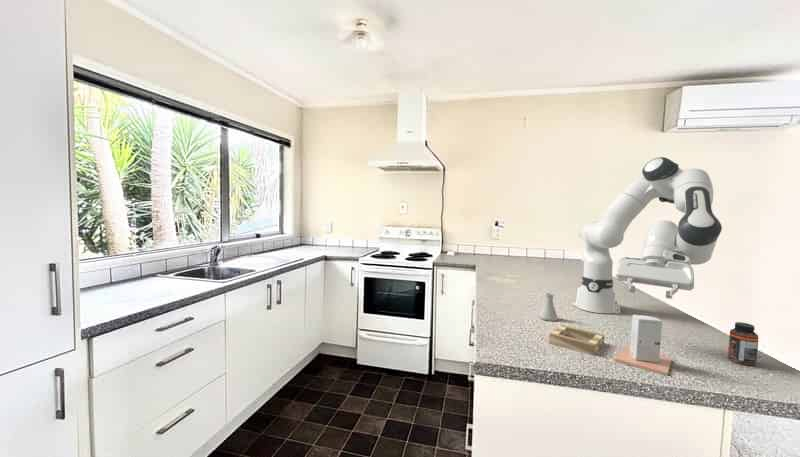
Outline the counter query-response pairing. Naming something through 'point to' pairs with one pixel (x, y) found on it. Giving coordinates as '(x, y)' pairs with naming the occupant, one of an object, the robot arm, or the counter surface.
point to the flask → (548, 309)
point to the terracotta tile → (644, 362)
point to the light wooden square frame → (577, 339)
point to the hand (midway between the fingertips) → (649, 294)
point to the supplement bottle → (743, 344)
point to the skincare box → (645, 338)
